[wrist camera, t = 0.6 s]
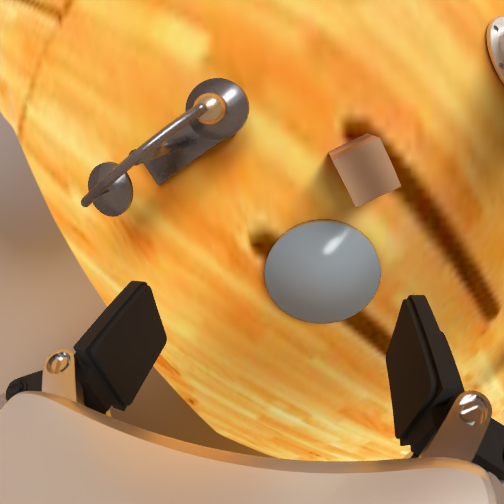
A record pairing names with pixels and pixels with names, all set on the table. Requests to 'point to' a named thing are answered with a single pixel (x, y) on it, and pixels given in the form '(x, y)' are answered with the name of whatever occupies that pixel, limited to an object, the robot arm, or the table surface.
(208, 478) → the robot arm
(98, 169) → the balance
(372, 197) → the walnut block
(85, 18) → the table surface
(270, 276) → the dish
